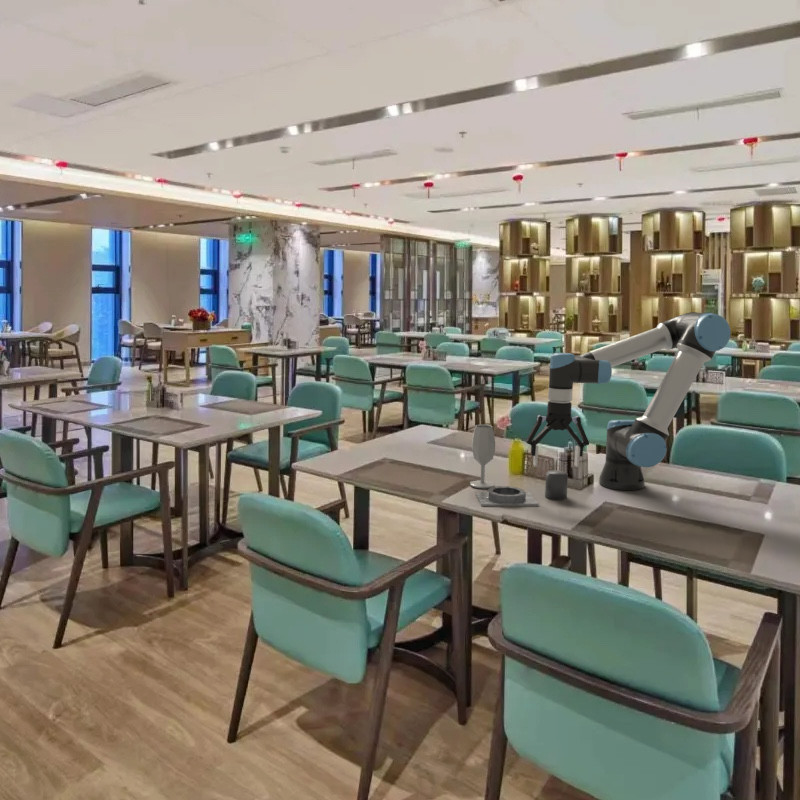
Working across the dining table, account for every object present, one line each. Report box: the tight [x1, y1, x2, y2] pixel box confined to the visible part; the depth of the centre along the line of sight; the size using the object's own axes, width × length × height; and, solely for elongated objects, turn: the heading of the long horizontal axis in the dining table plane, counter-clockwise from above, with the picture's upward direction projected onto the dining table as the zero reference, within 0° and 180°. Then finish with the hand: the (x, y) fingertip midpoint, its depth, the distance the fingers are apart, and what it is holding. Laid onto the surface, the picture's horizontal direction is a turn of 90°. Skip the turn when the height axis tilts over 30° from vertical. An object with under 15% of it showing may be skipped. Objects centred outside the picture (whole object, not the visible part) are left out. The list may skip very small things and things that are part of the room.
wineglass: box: [469, 424, 496, 490], centre depth 252 cm, size 9×9×21 cm
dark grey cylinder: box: [544, 469, 569, 501], centre depth 240 cm, size 7×7×8 cm
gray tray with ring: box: [475, 485, 539, 507], centre depth 237 cm, size 18×13×3 cm
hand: (555, 465), depth 239 cm, fingers open, 13 cm apart
